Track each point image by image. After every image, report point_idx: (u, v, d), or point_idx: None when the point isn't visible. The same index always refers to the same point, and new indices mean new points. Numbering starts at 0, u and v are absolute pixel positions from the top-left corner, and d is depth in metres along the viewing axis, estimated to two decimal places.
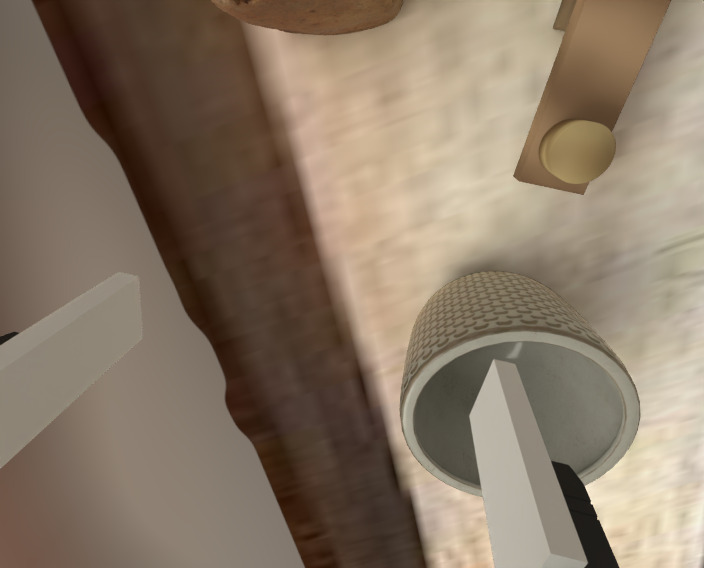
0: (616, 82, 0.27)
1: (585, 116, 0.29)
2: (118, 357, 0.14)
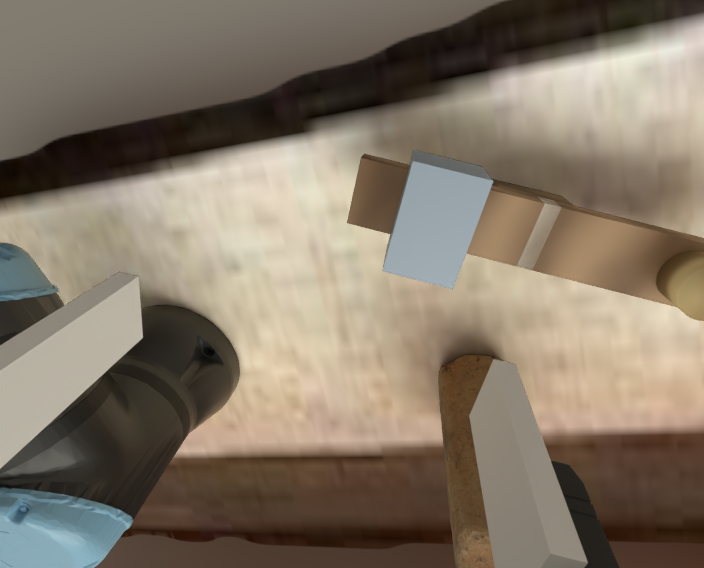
0: (634, 242, 0.29)
1: (659, 263, 0.29)
2: (118, 357, 0.14)
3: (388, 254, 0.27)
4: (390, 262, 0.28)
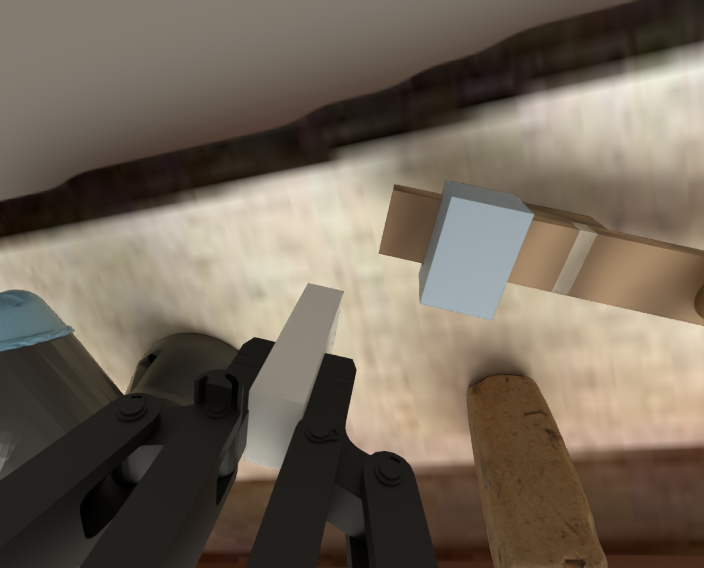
0: (672, 266, 0.28)
1: (697, 286, 0.29)
2: None
3: (426, 287, 0.27)
4: (428, 295, 0.27)
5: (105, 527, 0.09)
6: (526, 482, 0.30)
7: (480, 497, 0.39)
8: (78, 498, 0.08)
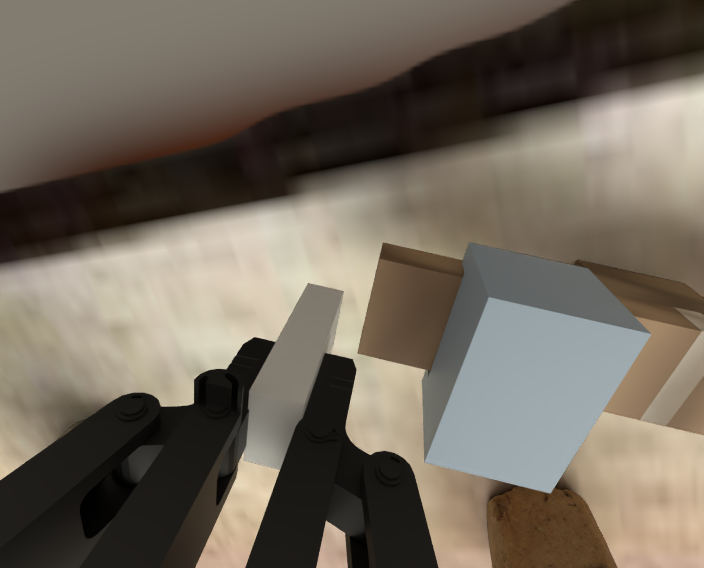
0: None
1: None
2: None
3: (435, 440, 0.15)
4: (439, 451, 0.15)
5: (105, 527, 0.09)
6: None
7: None
8: (78, 498, 0.08)
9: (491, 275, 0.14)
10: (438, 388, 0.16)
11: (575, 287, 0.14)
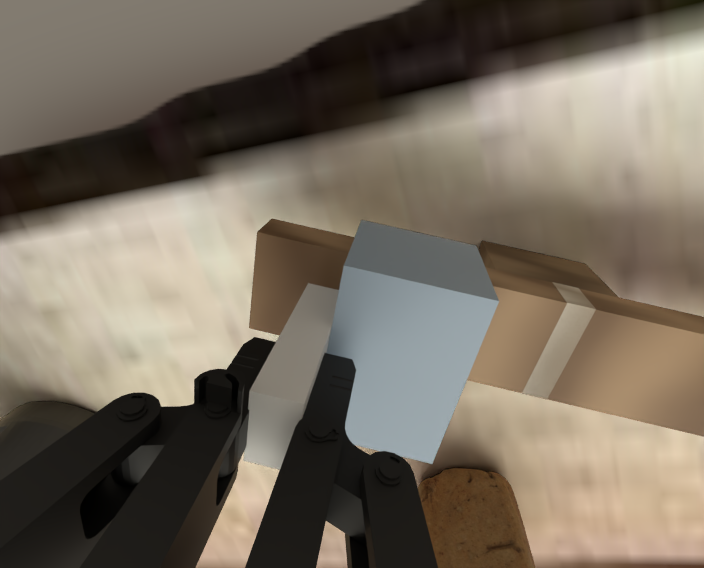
0: None
1: None
2: None
3: None
4: None
5: (105, 527, 0.09)
6: None
7: None
8: (78, 497, 0.08)
9: (362, 247, 0.14)
10: None
11: (448, 260, 0.15)
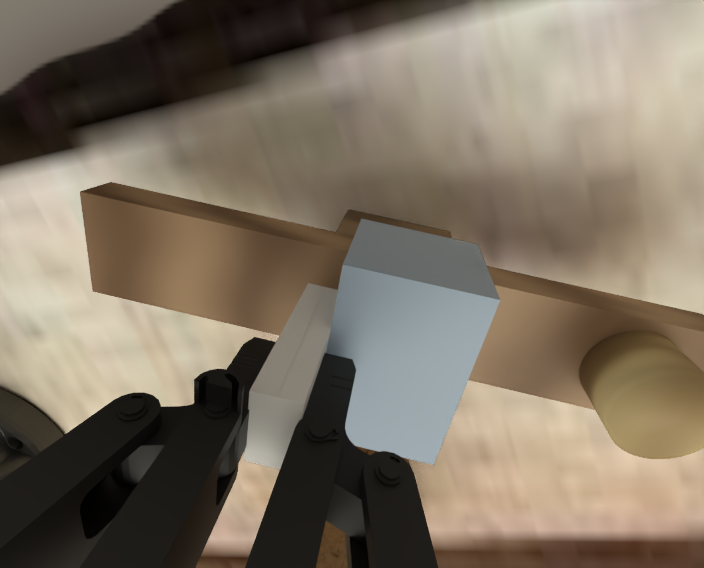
0: (535, 318, 0.17)
1: (580, 351, 0.17)
2: None
3: None
4: None
5: (105, 527, 0.09)
6: None
7: None
8: (78, 498, 0.08)
9: (361, 246, 0.14)
10: None
11: (448, 259, 0.15)
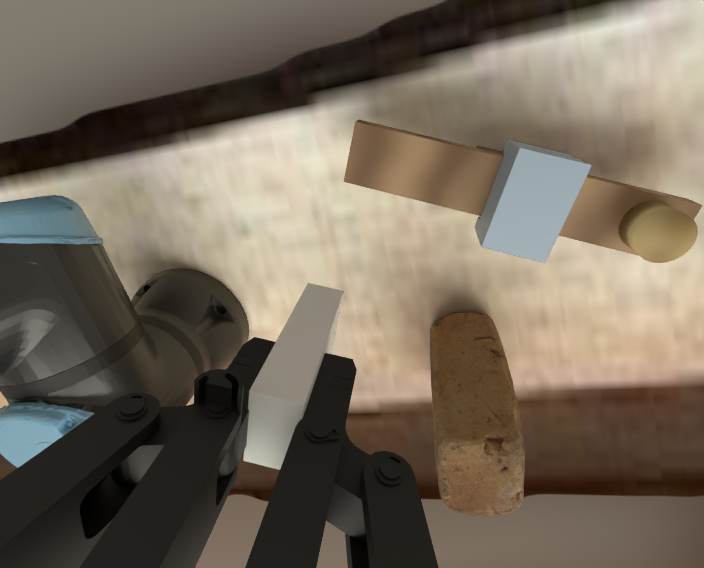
0: (598, 195, 0.32)
1: (620, 214, 0.33)
2: None
3: (488, 231, 0.31)
4: (489, 239, 0.31)
5: (105, 527, 0.09)
6: (465, 386, 0.34)
7: None
8: (78, 497, 0.08)
9: (520, 145, 0.29)
10: (489, 212, 0.32)
11: (560, 154, 0.30)
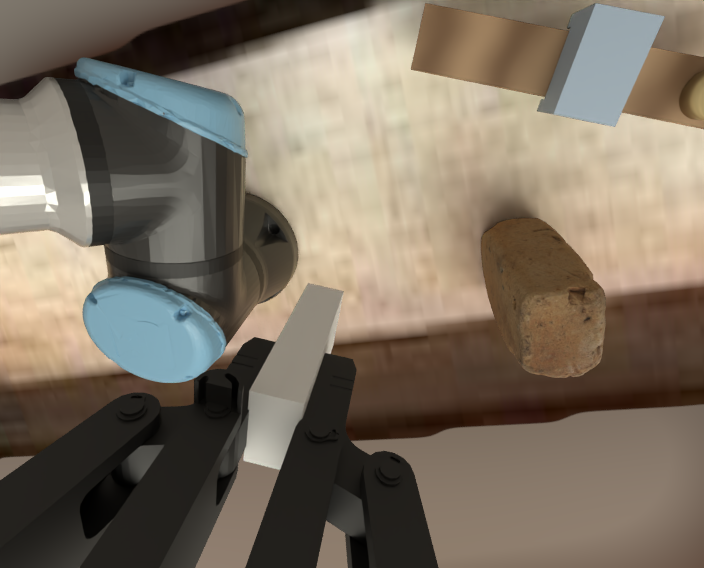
0: (660, 65, 0.34)
1: (681, 84, 0.34)
2: None
3: (561, 96, 0.32)
4: (561, 104, 0.32)
5: (105, 527, 0.09)
6: (536, 259, 0.36)
7: (494, 315, 0.44)
8: (78, 498, 0.08)
9: None
10: (558, 82, 0.33)
11: None
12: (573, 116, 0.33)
